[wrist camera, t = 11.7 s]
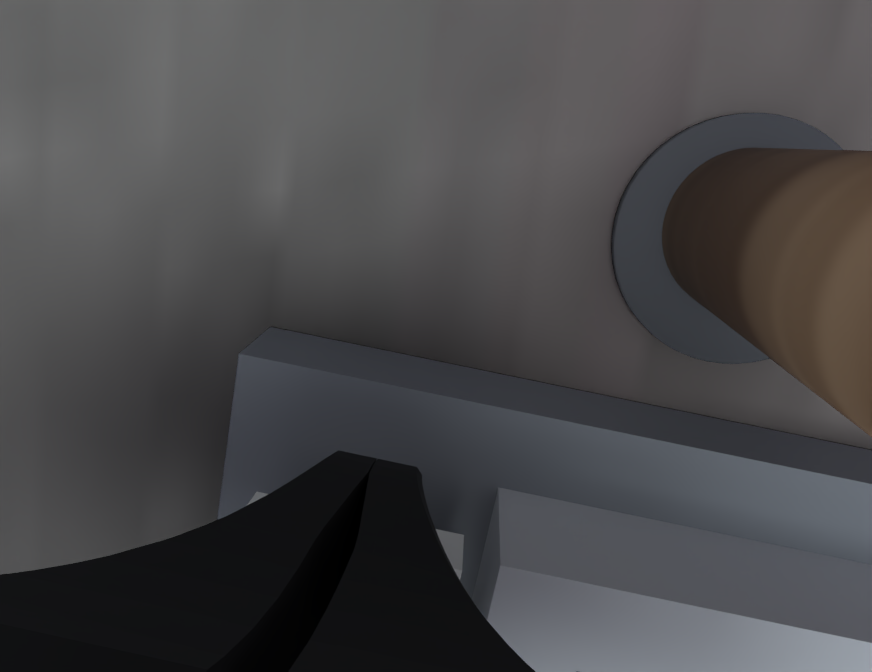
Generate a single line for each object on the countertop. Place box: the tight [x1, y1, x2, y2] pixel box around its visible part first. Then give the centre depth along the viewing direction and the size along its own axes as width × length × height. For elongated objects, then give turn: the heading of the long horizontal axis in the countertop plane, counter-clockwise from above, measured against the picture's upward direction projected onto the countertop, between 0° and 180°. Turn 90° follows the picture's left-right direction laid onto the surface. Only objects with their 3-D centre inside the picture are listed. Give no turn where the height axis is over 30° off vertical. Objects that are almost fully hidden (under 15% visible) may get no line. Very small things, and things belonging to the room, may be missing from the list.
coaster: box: [611, 113, 843, 364], centre depth 14 cm, size 5×5×1 cm
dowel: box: [662, 148, 872, 437], centre depth 10 cm, size 3×3×9 cm
